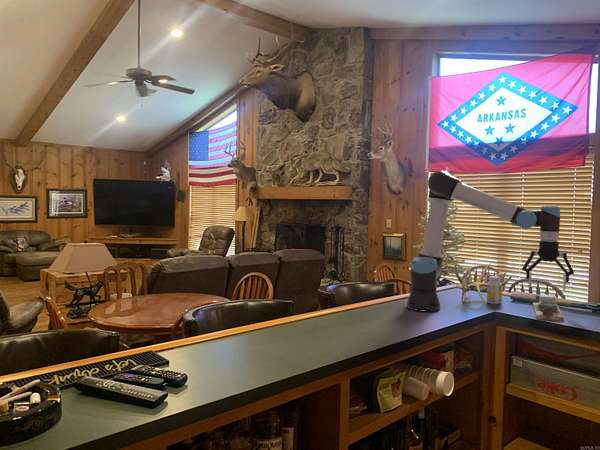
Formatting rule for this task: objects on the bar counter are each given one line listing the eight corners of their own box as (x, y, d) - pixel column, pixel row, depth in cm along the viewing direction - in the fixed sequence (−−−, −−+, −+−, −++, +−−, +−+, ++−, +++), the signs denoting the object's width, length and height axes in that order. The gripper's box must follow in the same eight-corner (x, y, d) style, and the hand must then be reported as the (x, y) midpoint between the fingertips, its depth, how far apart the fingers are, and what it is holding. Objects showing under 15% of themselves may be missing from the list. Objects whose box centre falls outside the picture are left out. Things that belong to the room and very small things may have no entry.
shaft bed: (536, 318, 192) (536, 305, 191) (532, 305, 215) (533, 293, 215) (563, 321, 188) (563, 307, 187) (556, 307, 211) (557, 295, 211)
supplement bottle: (498, 301, 224) (499, 275, 224) (503, 304, 218) (504, 278, 217) (485, 301, 225) (485, 275, 224) (489, 304, 219) (489, 277, 218)
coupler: (540, 310, 199) (540, 297, 198) (539, 306, 207) (539, 293, 206) (556, 312, 196) (556, 298, 196) (554, 307, 204) (554, 294, 204)
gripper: (518, 239, 201) (515, 286, 203) (583, 243, 191) (580, 292, 193) (517, 238, 208) (515, 283, 210) (580, 241, 198) (577, 289, 199)
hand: (546, 288), depth 201 cm, fingers open, 13 cm apart
